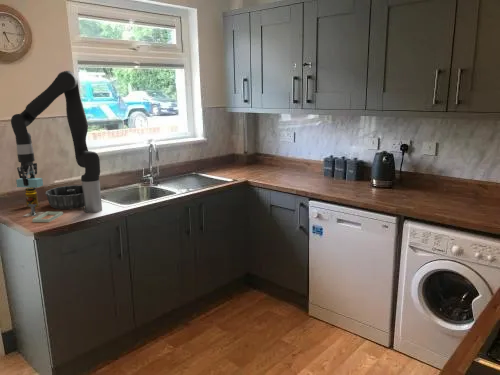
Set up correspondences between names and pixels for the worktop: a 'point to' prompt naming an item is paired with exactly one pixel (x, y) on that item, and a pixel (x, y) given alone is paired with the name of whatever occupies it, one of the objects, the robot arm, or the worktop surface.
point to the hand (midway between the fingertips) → (29, 184)
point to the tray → (38, 218)
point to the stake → (33, 211)
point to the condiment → (31, 196)
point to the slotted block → (30, 182)
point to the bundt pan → (66, 197)
